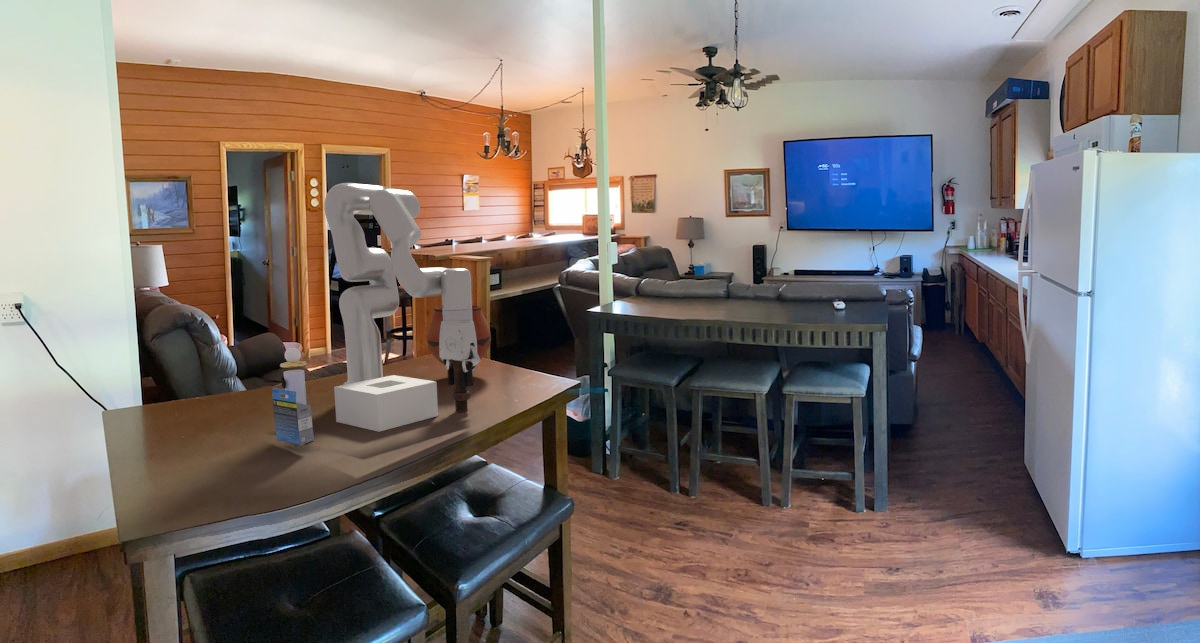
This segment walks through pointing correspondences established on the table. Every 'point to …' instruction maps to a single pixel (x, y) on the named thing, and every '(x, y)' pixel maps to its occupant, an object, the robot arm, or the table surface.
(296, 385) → the perfume bottle
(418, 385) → the hitch block
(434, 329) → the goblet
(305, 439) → the label tape box
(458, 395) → the bolt
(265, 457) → the table surface
